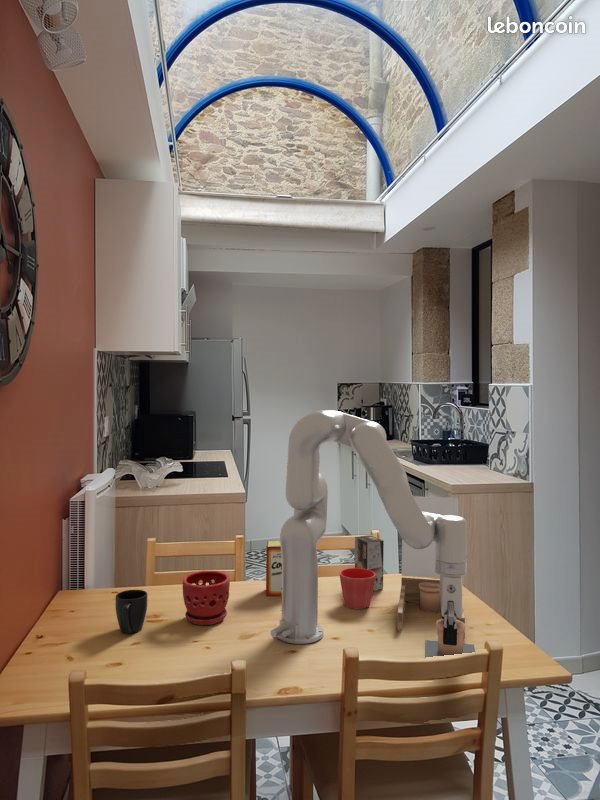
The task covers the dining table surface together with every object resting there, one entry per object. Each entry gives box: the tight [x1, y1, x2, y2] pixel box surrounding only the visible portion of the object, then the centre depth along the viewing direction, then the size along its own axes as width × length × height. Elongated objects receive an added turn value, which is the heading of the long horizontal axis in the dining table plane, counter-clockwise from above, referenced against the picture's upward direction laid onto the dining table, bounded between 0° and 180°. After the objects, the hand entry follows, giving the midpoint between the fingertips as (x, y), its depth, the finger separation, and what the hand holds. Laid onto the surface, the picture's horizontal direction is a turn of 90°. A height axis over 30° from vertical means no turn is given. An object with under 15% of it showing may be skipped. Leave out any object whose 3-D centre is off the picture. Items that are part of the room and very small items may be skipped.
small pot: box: [435, 618, 466, 656], centre depth 142 cm, size 7×7×7 cm
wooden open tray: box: [397, 576, 466, 638], centre depth 166 cm, size 25×17×7 cm
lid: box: [401, 495, 460, 579], centre depth 183 cm, size 25×17×2 cm
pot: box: [419, 582, 441, 613], centre depth 173 cm, size 7×7×7 cm
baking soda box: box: [265, 540, 282, 597], centre depth 186 cm, size 10×6×16 cm
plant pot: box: [182, 570, 231, 626], centre depth 162 cm, size 13×13×12 cm
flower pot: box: [339, 567, 376, 610], centre depth 175 cm, size 11×11×10 cm
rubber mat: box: [424, 639, 476, 658], centre depth 142 cm, size 12×12×1 cm
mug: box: [114, 589, 148, 635], centre depth 153 cm, size 8×12×10 cm
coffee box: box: [354, 534, 385, 591], centre depth 193 cm, size 9×6×16 cm
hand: (449, 636), depth 142 cm, fingers open, 9 cm apart
